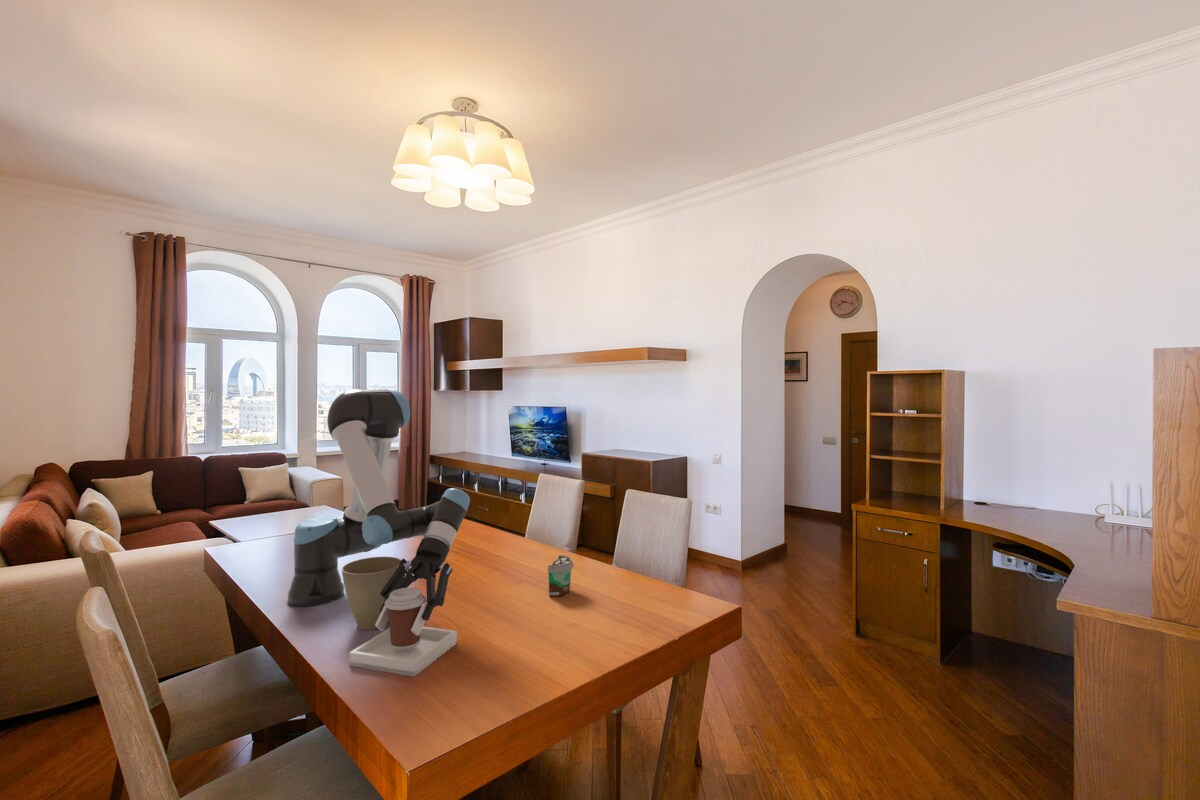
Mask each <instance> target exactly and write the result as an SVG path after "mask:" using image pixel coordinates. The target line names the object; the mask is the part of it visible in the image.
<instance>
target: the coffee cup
mask: <svg viewBox="0 0 1200 800" xmlns="http://www.w3.org/2000/svg"><path fill="white" fill-rule="evenodd" d="M425 600H426V601H427V597H426V596H425V595H424V594H423V593H422V591H421V589H419V588H417V587H407V588H401V589H397V590H394V591H393V592H391V593H390V595H389V598H388V599H387V600H386V601H385V607H386V608H388V615H389V621H388V625H389V628H390V638H391V647H392V648H394V649H399V650H402V649H409V648H412V647H415V646H417V645H418V644H419V643H420V634H419V636H416V635H415V634H414V633H413V632H412V631H411V629H412V627H413V624H414V622H415V620H416V617H417V615H418V613H419V611H420V608H421V606H422V604H423V603H426V601H425ZM420 633H421V632H420Z"/></svg>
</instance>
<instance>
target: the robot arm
mask: <svg viewBox="0 0 1200 800" xmlns="http://www.w3.org/2000/svg"><path fill="white" fill-rule="evenodd" d="M410 409H411V408H410V405H409V402H408V400H407V398H406V396H405V395H404V394H403V393H402V392H400V391H399V390H391V389H350V390H346V391H345V392H342V393H341V394H339V395H338V396H337V397H336V398H335V399H334V400H333V401H332V403H331V405H330V406H329V409H328V413H327V420H326V421H327V428H328V432H329V434H330V437H331V439H332V440H333V441H334V442H337V444H338V446H339V449H340V452H341V454H342V456H343V460H344V462H345V465H346V467H347V470H348V472H349V474H350V477H351V480H352V483H353V489H352V493H351V494H352V495H351V500H350V505H349V506H347V507H345V509H344V511H343V515H342V518H338V517H337V516H335V515H323V516H317V517H313V518H308V519H306V520H304V521H302V522H300V523H299V524H297V525H296V526H295V528H294V536H293V537H294V538H293V544H294V545H293V547H294V548H293V549H294V552H293V553H294V574H293V575H294V576H293V578H292V580H291V581H292V582H291V585H290V588H289V590H288V592H287V603H288V604H289V605H293V606H297V607H305V606H307V607H310V606H318V605H323V604H327V603H330V602H333V601H336V600H338V599H340V598H342V597H343V595H344V594H345V586H344V582H343V581H342V578H341V575H340V572H339V567H338V563H339V562H338V561H339V560H338V559H339V558H343V557H347V556H352V555H356V554H360V553H367V552H370V551H373V550H377V549H378V548H380V547H381V546H383V545H386V544H389V543H394V542H396V541H397V542H398V541H402V540H405V539H406V540H407V539H410V538H411V539H412V538H415V537H422V539H421V540H420V543H419V545H418V547H417V549H416V552H415V556H414V558H412V559H411V560H406V559H405V558H402V559H400V560H401V562H400V564H399V567H398V568H397V570H396V571H395V573H394V574H393V575H392V577H391V578H390V579H389V581H388V582H387V584H386V585H385V586H384V588H383V589H382V591H381V592H380V595H381V596H383V597H384V598H385V600H384V602H383V604H382V606H381V608H380V613H381V614H380V616H379V618H378V620H377V622H376V624H375V626H376V627H377V629H378V630H379V631H381V632H384V631H385V628H386V625H387V624H388V623H387V621H388V619H389V615H388V608H386V607H385V601H386V600H387V599H388V598H389V595H390V593H391V592H393V591H394V590H397V589H401V588H409V586H411V585H412V584H413V583H415V582H416V581H417V580H418V579H419V580H420V579H424V580H426V581H425V582H426V583H425V584H426V588H425V589H426V600H425V603H423V604H422V606H421V608H420V611H419V613H418V615H417V617H416V620H415V622H414V624H413V627H412V629H411V631H412V632H413V633H414V634H415V635H416V636H419V634H420V632H421V630H422V627H423V626H424V624H425V622H426V621H429V619H430V617H431V614H432V612H433V610H434V609H435V608H436V607H438V606H439V607H442V606H444V604H445V603H444V602H445V598H446V592H447V589H448V588H447V587H448V585H449V584H448V583H449V578H450V575H451V574H452V571H453V567H452V566H451V565H450V564H449V562H446V563H445V561H446V560H447V558H448V554H449V553H450V548H451V547H452V546H453V543H454V540H455V538H456V536H457V534H458V532H459V529H460V528H461V525H462V523H463V520H464V518H465V516H466V514H467V512H468V509H469V506H470V502H471V498H470V496H469V495H468V493H466V492H465V491H464V490H462V489H459V488H455V487H451V488H447V489H446V490H444V493H443V494H442V495H441V498H440V500H439V501H436V502H434V503H432V504H429V505H425V506H421V507H420V506H419V507H416V508H415V507H414V508H409V509H402V510H399V509H398V506H396V503H395V501H394V499H393V496H392V494H391V491H390V489H389V486H388V484H387V481H386V479H385V478H386V473H387V467H388V462H389V458H390V452H391V448H392V441H393V440H394V439H396V438H398V436H399V433H400V429H401V428H404V427H406V426H407V425H408V424H409V422H410V419H411V410H410ZM438 572H439V577H438V581H437V575H436V574H438ZM436 582H437V587H436ZM388 622H389V621H388ZM386 623H387V624H386Z"/></svg>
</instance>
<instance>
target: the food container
mask: <svg viewBox="0 0 1200 800" xmlns="http://www.w3.org/2000/svg"><path fill="white" fill-rule="evenodd" d="M547 566H548V567H547V574H548V596H549V597H558V598H563V597H566V596H568V595H569V594H570V593H569V592H570V590H571V580H572V579H571V577H572V576H571V575H572V569H574V563H573V560H572V558H571V557H570V556H567V555H562V554H558V558H557V559H556V560H555V561H553V563H552V564H551V565H549V564H548V565H547ZM567 594H568V595H567ZM565 595H566V596H565ZM562 596H563V597H562ZM549 597H548V598H549Z"/></svg>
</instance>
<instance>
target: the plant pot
mask: <svg viewBox="0 0 1200 800" xmlns="http://www.w3.org/2000/svg"><path fill="white" fill-rule="evenodd" d="M401 560H402V559H400V558H398V557H394V556H374V557H366V558H360V559H357V560H353V561H350V562H348V563H346V564H344V565H343V566H342V567H341V573H342V582H343V585H344V591H345V593H346V597H347V601H348V604H349V607H350V610H351V613H352V615H353V617H354V620H355V623H356V625H357V626H358V628H359V629H361V630H366V631H367V630H369V631H370V630H371V629H372V630H376V629H378V628H377V627H376V626H375V624H376V622H377V620H378V618H379V616H380V614H381V613H380V608H381V606H382V604H383V602H384V600H385V598H384V597H383V596H381V595H380V592H381V591H382V589H383V588H384V586H385V585H386V584H387V582H388V581H389V579H390V578H391V577H392V575H393V574H394V573H395V571H396V570H397V568H398V567H399V564H400V562H401ZM387 624H389V619H388V621H387V623H386V625H387Z"/></svg>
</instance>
